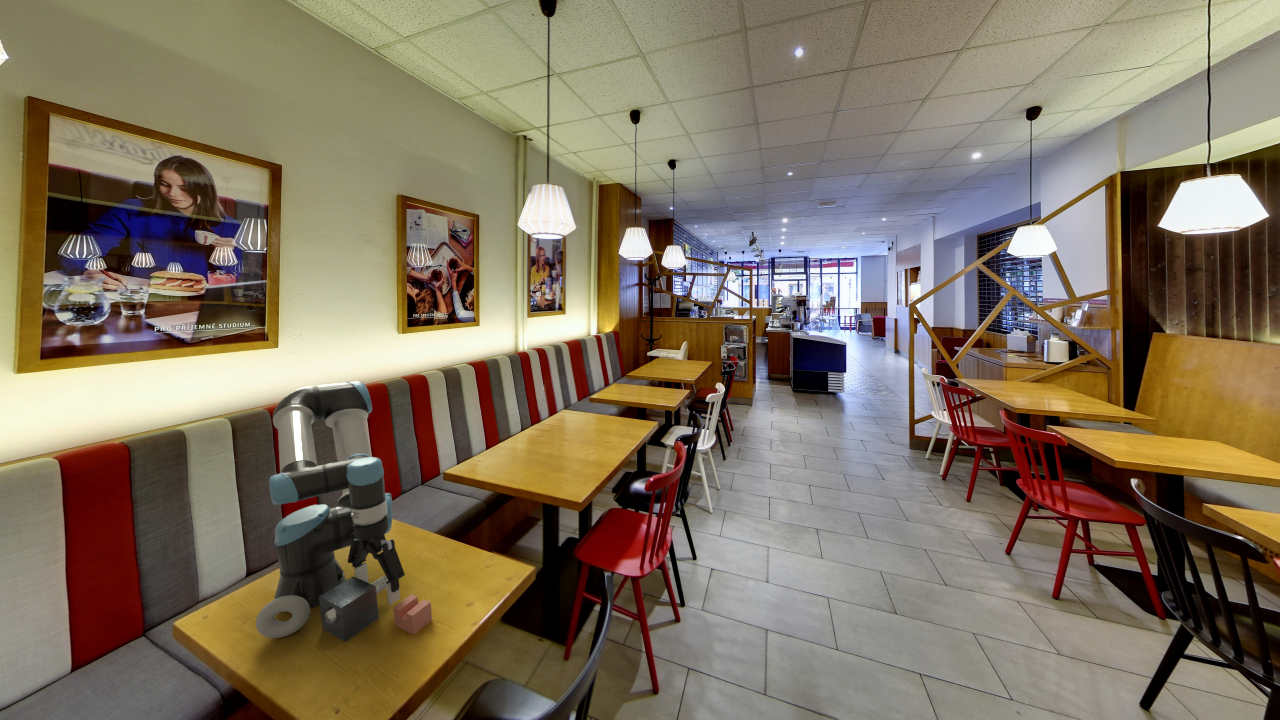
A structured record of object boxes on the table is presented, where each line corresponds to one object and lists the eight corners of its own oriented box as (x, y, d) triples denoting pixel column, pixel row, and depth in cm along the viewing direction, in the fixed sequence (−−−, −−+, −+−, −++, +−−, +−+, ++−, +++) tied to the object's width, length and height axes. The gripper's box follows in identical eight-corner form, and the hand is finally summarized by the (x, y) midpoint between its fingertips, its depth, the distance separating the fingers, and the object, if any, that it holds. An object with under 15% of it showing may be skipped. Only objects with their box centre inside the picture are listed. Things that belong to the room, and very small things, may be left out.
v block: (394, 625, 99) (392, 607, 99) (413, 611, 104) (411, 594, 103) (413, 634, 97) (412, 616, 96) (432, 619, 101) (430, 601, 100)
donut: (256, 648, 93) (250, 609, 92) (261, 637, 96) (256, 600, 95) (310, 632, 98) (305, 595, 96) (313, 622, 101) (309, 586, 99)
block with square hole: (322, 629, 98) (318, 596, 97) (356, 607, 105) (353, 576, 104) (345, 642, 95) (341, 607, 93) (379, 618, 102) (375, 585, 101)
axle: (324, 620, 96) (324, 610, 95) (381, 583, 108) (381, 574, 108) (332, 626, 95) (332, 616, 94) (389, 588, 107) (389, 578, 107)
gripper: (326, 515, 105) (335, 590, 107) (386, 536, 95) (395, 618, 98) (356, 502, 111) (363, 573, 114) (415, 521, 102) (422, 598, 104)
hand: (378, 594), depth 106 cm, fingers open, 12 cm apart
